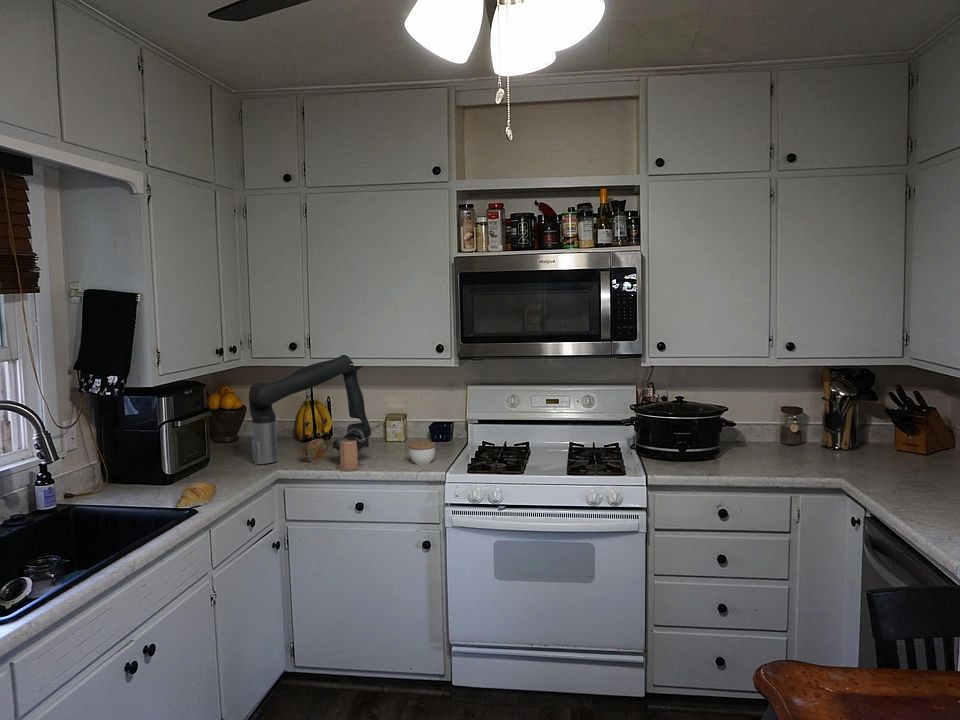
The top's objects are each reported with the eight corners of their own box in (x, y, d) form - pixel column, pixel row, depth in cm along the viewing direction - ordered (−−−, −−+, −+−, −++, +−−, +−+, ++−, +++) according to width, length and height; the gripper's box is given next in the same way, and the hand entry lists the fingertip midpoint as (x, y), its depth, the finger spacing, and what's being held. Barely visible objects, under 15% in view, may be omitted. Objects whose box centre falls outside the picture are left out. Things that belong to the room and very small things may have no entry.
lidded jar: (404, 464, 275) (403, 441, 274) (418, 458, 284) (417, 436, 284) (426, 467, 270) (426, 444, 269) (440, 461, 279) (440, 438, 279)
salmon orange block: (340, 468, 269) (339, 443, 268) (342, 464, 275) (341, 440, 274) (356, 468, 269) (355, 443, 268) (358, 463, 276) (357, 439, 275)
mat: (348, 463, 279) (347, 462, 279) (334, 458, 288) (334, 457, 288) (374, 458, 286) (373, 457, 286) (360, 453, 296) (360, 453, 296)
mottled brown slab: (308, 464, 279) (307, 444, 279) (301, 464, 280) (300, 443, 280) (327, 456, 294) (326, 436, 293) (321, 455, 295) (320, 436, 294)
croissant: (187, 523, 221) (197, 502, 220) (161, 508, 222) (170, 487, 220) (221, 501, 242) (230, 482, 240) (197, 488, 242) (205, 468, 241)
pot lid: (343, 473, 265) (342, 464, 264) (330, 467, 273) (330, 459, 273) (368, 467, 271) (368, 459, 271) (355, 462, 280) (355, 454, 280)
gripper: (336, 430, 288) (330, 438, 271) (370, 429, 288) (366, 437, 272) (337, 448, 288) (331, 457, 272) (371, 446, 289) (367, 456, 273)
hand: (348, 447), depth 272 cm, fingers open, 8 cm apart
